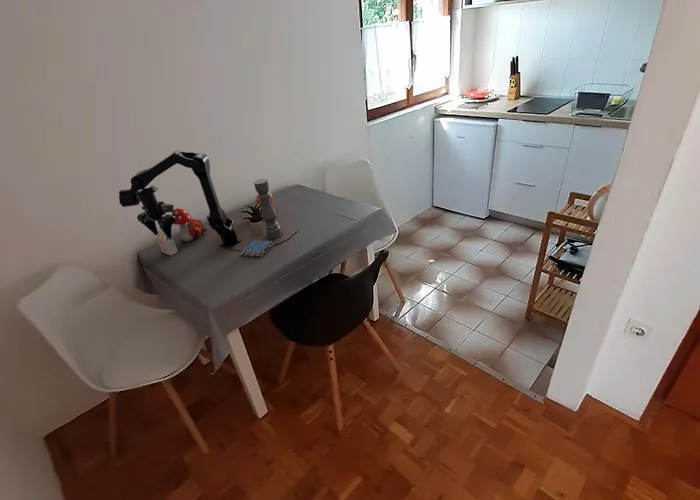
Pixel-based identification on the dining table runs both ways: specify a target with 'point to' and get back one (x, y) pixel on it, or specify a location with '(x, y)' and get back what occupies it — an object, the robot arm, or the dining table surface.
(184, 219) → the decorative mushroom
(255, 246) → the woven mat
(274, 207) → the terracotta cup
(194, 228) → the dragon fruit
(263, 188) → the candle holder
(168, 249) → the white printed carton
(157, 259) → the dining table surface
